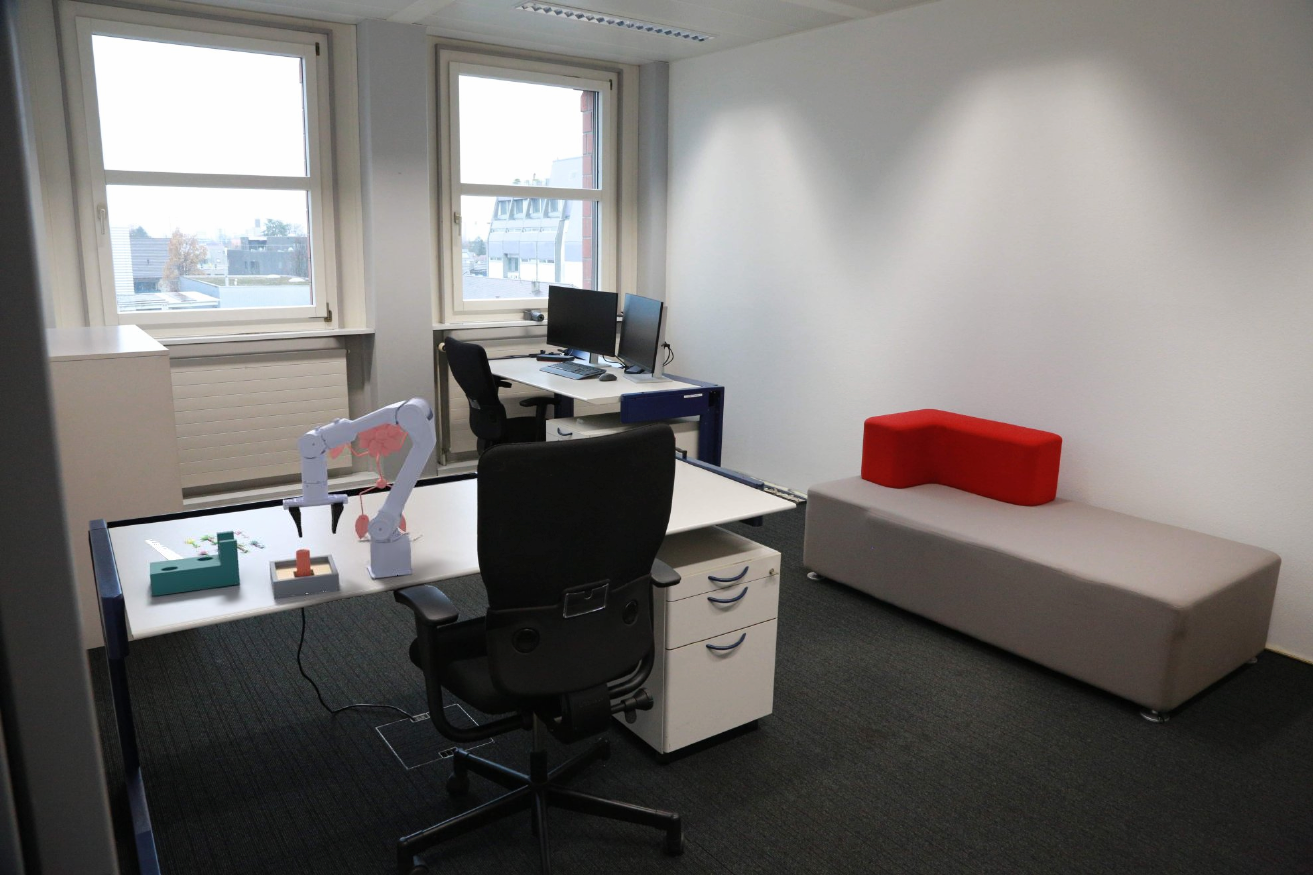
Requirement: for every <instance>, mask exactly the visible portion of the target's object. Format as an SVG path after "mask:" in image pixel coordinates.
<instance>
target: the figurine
mask: <svg viewBox="0 0 1313 875" xmlns="http://www.w3.org/2000/svg"><path fill="white" fill-rule="evenodd" d="M401 429H402V427H401V426H400V424H398V425H397V426H394V425H391V424H388V423H385V424H382V425H379V426H376V427H374V428H371V429H368V430H365V431H362V432H360V433H357V437H358V438H359V439H360V441H359V443H358V447H359V449H360V450H365V449H367V448H368V451H366V452H363V453H361V454H358V453H357V452H356V451H355V449H353V447H352V446H351V445H350V444H349V443H346V444H344V445H341V446H339V447H336V448H334V449H331V450H328V453H329V455H330V457H331V459H332V460H335V459H336V458H337V457H339V455H341V454H342V452H343V450H344V448H345V445H346V446H347V447H348V448H349V450H350V451H351V452H352V453H353V454H354V455H355V456H356V457H357V458H361V457H363V456H366V455H369V456H370V457H371V458H376V460H375V463H376V467H377V470H378V474H379V477H380V478H379V479H377V480H376V484H375V486H372V487H370V488H368V489H365V490H364V491H361V492H360V493H359V501H360V508H361V514H360V515H359V516H358V517H357V519H356V521H355V524H354V528H355V529H354V530H355V533H356V535H357V536H358V538H359V539H360V540H361V539H363V538H364V536H366V535H367V534H368V531H367V526H368V523H369V522H370V519H369V516H368V515H367V514H365V513H364V507H363V506H364V505H363V499H362V494H364V493H366V492H368V491H370V490H373V489H375V488H378V489H384V488H386V486H387V487H389V488H392V486H393V485H390V484H388V482H387V480H386V479H385V478H383V476H382V472H381V468H380V464H379V461H380V460H379V459H380V455H381V456H383V457H388V456H390V453H391V452H399V451H400V450H401V449H402V446H403V445H404V442H405V440H406V439H407V436H408V435H409V434H408V433H407V432H406V431H405V430H401ZM401 439H402V440H401ZM400 440H401V442H399V441H400ZM398 528H399V529H400V531H403V532H404V533H406V532H407V521H406V518H405V516H404V515H403V514H402V521H401V524H400V526H399V527H398ZM420 536H421V537H422V534H421V535H420ZM420 536H418V537H417V538H415V539H413V542H415V541H417V539H419V538H420ZM411 542H412V540H410V543H411Z"/></svg>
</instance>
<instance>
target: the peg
mask: <svg viewBox="0 0 1313 875" xmlns="http://www.w3.org/2000/svg"><path fill="white" fill-rule="evenodd" d="M310 552H311V551H310V550H309V549H303V548H302V549H298V550H296V552H295V558H296V562H297V577H305V576H311V568H310V557H311V553H310Z"/></svg>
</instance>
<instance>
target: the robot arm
mask: <svg viewBox="0 0 1313 875" xmlns="http://www.w3.org/2000/svg"><path fill="white" fill-rule="evenodd" d="M385 423H388V424H391V425H394V426H397V425H398V424H400V426H401V429H403V431H404V432H405V433H406V432H407V433H408V434H407V435H408V436H409V438H410V439H411V442H412V447H411V449H410V450H409V453H408V455H407V457H406V458H405V461H404V463H403V465H402V467H401V469H400V471H399V472H398V474H397V476H396V479H395V480H394V482H393V484H392V485H391V486H392V487H390V490H389V493H388V494H387V496H386V499H385V501H384V502H383V504H382V506H381V508H380V509H378V510H377V511H376V512H377V513H376V514H375V515H374V516H373V517H372V518H371V519H369V521H370V522H369V523H368V526H367V531H368V532H367V534H368V536H369V546H370V547H369V550H370V552H369V554H370V565H367V568H366V569H367V571H368V573H369V574H370V577H371V579H372V580H373V579H381V578H390V577H396V576H397V575H398V576H405V575H406V576H407V575H411V574H413V572H412V547H411V546H412V545H411V542H410V541H411V540H410V537H409V536H410V535H408V534H401V532H400V530H399V529H398V528H399V526H400V524H401V521H402V515H403V511H404V510H405V506H406V505H407V502H408V500H409V498H410V496H411V494H412V492H413V490H414V488H415V485H416V484H417V482H418V480H419V478H420V476H421V474H422V472H423V470H424V468H425V467H426V464H427V462H428V460H429V458H430V456H431V454H432V452H433V450H434V448H435V446H436V444H437V436H436V435H437V434H436V426H435V412H434V410H433V409H432V407H431V405H430V404H429V401H427V400H426V399H424V398H422V397H413V398H411V399H409V400H402V401H399V402H395V403H393V404H389V405H386V406H384V407H382V408H380V409H377V410H375V411H372V412H370V413H369V414H366V415H363V416H361V417H358V418H357V419H356V418H355V419H354V420H350V419H349V418H342V419H341V418H340V417H337V418H334V419H333V420H332V422H331V423H329V424H326V425H323V426H322V427H321V426H320V425H318V426H316V427H314V429H311V430H310V431H308V432H307V433H305V434H303V435H301V436H300V438H299V439H298V440H297V443H296V449H297V451H298V453H299V454H300V457H301V458H300V459H301V460H300V461H301V462H300V465H301V466H300V467H301V470H300V471H301V484H302V486H301V487H302V496H301V497H295V498H290V499H283V500H282V507H283V510H284V511H286V510H288V512H289V514H290V516H291V518H292V520H293V522H294V524H295V526H296V529H297V535H298V538H299V539H300V538H303V528H302V511H301V508H310V507H320V506H330V512H331V533H332V534H333V535H334V534H337V527H338V524H339V520H340V518H341V515H342V514H343V511H344V509H345V505H347V504H349V500H348V499H349V496H348V495H347V494H346V493H345V494H329V487H328V486H329V484H328V483H329V482H328V468H327V467H328V466H327V465H328V464H327V451H329V450H331V449H334V448H336V447H339V446H341V445H344V444H345V445H346V443H348V444H349V443H351V442H353V441H355V440H356V438H357V436H358V434H359V433H360V432H362V431H365V430H368V429H371V428H374V427H376V426H379V425H382V424H385ZM345 445H344V446H345ZM398 576H397V577H398Z"/></svg>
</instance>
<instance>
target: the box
mask: <svg viewBox="0 0 1313 875" xmlns="http://www.w3.org/2000/svg"><path fill="white" fill-rule="evenodd" d="M310 568H311V576H305V577H297V562H296V557H295V558H288V559H278V560H271V561H270V560H269V576H270V583H271V588H272V593H273V598H274V599H282V598H289V596H290V597H293V596H292V595H298V596H303V595H302V594H305V595H307V594H306V593H313V594H320V593H319V592H321V593H326V592H325V591H329V592H334V591H335V592H336V591H340V574H339V571H338V568H337V565H336V563H335V560H334V557H333V555H332V554H323V555H313V556H310ZM323 591H324V592H323ZM281 597H282V598H281Z"/></svg>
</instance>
